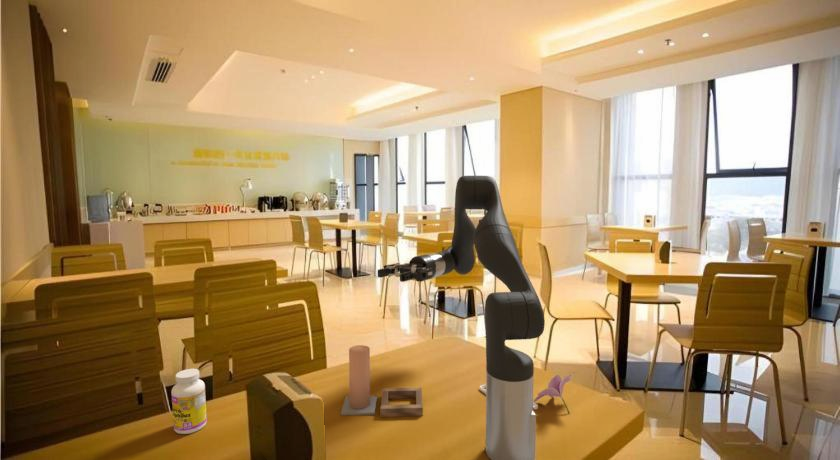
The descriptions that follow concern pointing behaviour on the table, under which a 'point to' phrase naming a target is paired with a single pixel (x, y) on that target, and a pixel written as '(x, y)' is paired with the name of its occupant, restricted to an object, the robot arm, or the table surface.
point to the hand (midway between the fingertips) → (389, 275)
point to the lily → (555, 388)
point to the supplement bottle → (188, 402)
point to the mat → (365, 411)
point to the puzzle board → (401, 409)
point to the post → (359, 376)
